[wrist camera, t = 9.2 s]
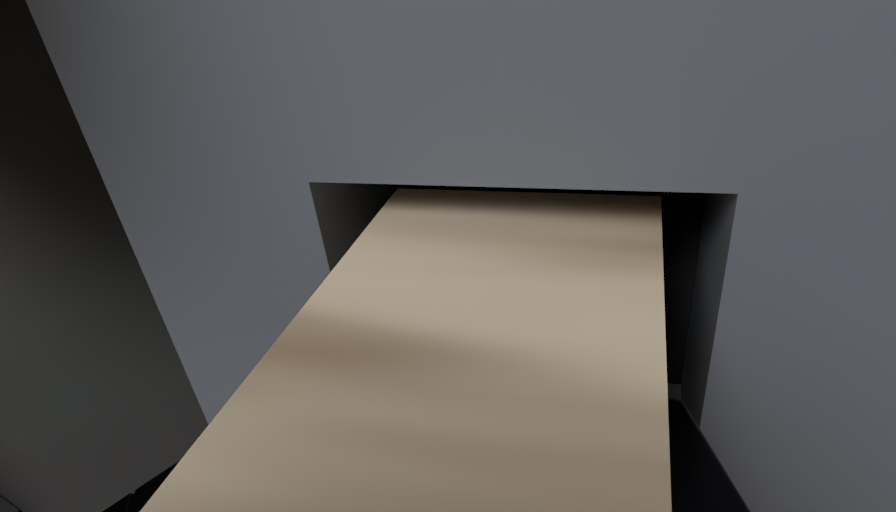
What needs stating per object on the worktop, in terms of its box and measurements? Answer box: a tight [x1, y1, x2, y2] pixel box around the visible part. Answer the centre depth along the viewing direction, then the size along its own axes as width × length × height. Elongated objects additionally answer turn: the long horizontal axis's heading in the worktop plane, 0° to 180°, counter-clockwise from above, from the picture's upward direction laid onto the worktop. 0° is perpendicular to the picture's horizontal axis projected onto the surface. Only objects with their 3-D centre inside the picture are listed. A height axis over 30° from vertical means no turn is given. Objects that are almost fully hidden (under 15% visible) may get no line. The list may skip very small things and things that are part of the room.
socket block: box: [26, 0, 896, 512], centre depth 11 cm, size 14×14×3 cm
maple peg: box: [140, 188, 672, 512], centre depth 8 cm, size 4×4×8 cm
